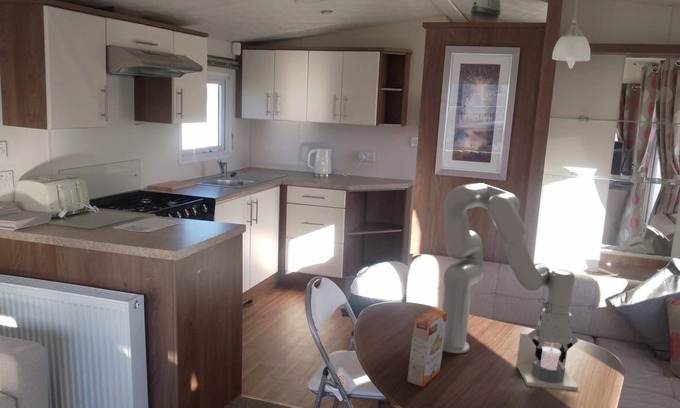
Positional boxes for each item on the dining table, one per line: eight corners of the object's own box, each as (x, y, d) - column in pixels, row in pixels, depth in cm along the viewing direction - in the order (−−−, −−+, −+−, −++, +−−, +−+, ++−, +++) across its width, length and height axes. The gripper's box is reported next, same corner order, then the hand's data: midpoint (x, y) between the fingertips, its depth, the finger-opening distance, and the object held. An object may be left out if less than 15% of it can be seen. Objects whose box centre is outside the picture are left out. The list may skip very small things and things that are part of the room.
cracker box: (424, 388, 178) (430, 324, 175) (406, 382, 181) (412, 319, 178) (441, 372, 190) (448, 312, 187) (424, 367, 193) (430, 307, 190)
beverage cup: (541, 369, 195) (547, 330, 193) (559, 376, 191) (566, 336, 189) (534, 375, 190) (540, 335, 188) (553, 382, 187) (559, 341, 184)
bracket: (527, 385, 186) (532, 350, 183) (516, 364, 200) (520, 332, 198) (577, 390, 185) (583, 355, 183) (563, 369, 199) (568, 336, 197)
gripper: (533, 309, 184) (525, 362, 187) (588, 314, 183) (580, 367, 186) (527, 301, 191) (520, 352, 194) (580, 306, 190) (572, 357, 193)
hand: (549, 359), depth 190 cm, fingers open, 6 cm apart
